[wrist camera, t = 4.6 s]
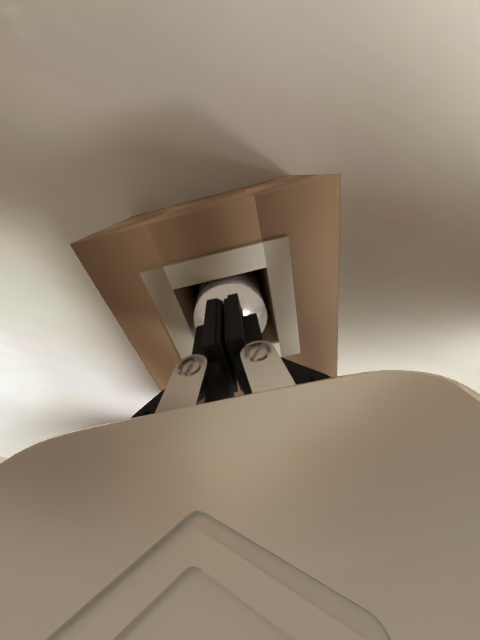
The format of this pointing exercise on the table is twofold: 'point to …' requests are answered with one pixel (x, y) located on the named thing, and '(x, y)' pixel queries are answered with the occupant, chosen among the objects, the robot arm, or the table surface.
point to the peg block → (226, 268)
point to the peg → (230, 285)
